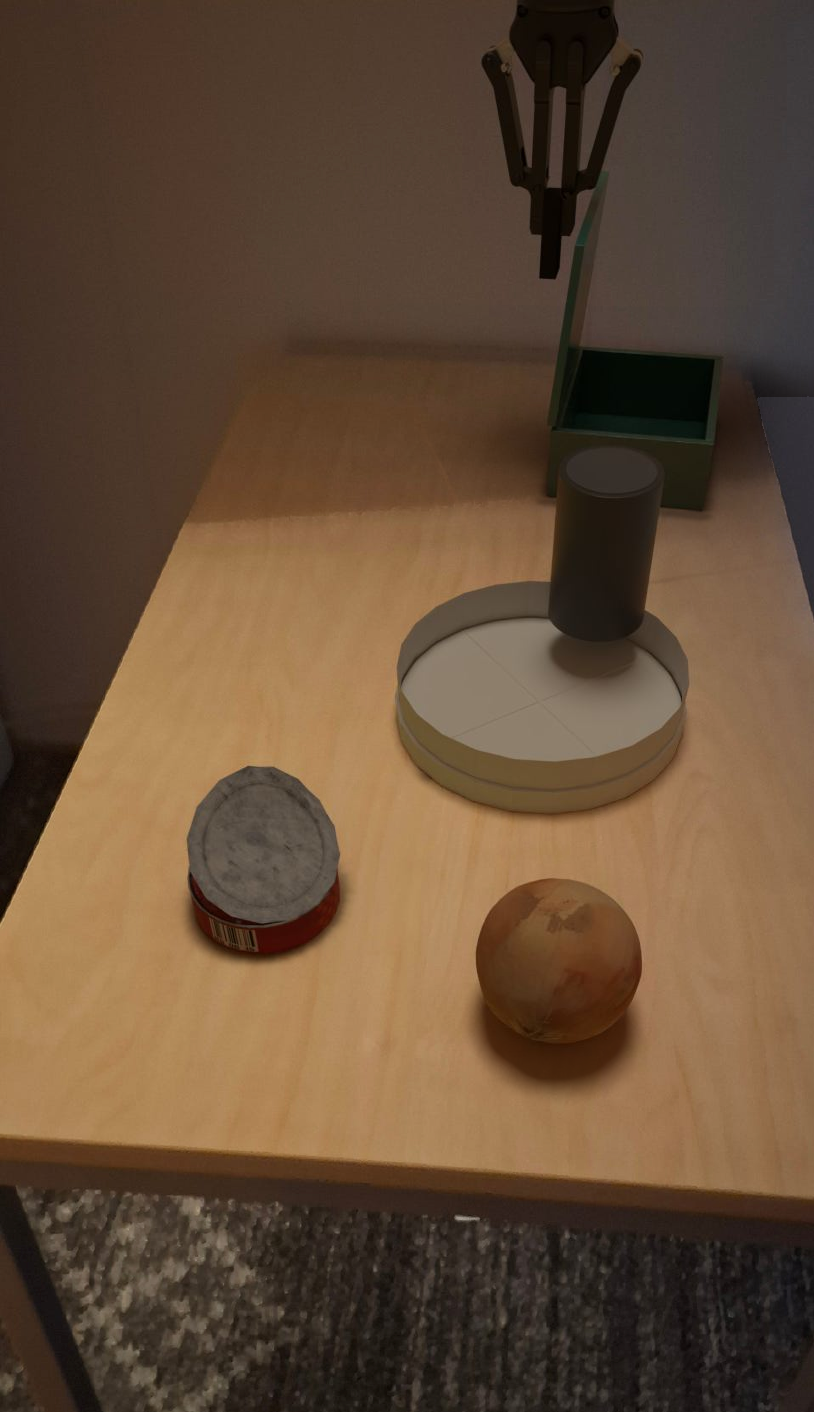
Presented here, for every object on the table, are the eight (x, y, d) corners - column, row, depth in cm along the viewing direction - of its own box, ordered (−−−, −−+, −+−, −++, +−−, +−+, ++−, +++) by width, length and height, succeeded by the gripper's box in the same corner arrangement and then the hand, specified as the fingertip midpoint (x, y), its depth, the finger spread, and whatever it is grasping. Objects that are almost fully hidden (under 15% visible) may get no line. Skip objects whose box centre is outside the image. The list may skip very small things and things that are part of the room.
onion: (634, 954, 75) (655, 846, 67) (629, 1086, 68) (651, 983, 61) (484, 937, 76) (488, 829, 68) (464, 1065, 69) (466, 962, 62)
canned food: (326, 899, 84) (387, 810, 78) (293, 1001, 77) (356, 912, 71) (184, 829, 82) (234, 731, 76) (135, 927, 75) (186, 828, 68)
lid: (609, 172, 106) (600, 170, 106) (584, 246, 94) (574, 245, 94) (580, 341, 117) (572, 340, 117) (555, 427, 106) (546, 425, 106)
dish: (497, 858, 80) (499, 806, 77) (345, 688, 93) (341, 636, 90) (743, 744, 88) (756, 692, 84) (570, 601, 101) (575, 550, 97)
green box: (711, 426, 121) (723, 356, 115) (700, 518, 109) (714, 444, 103) (570, 415, 123) (576, 345, 118) (545, 504, 111) (550, 431, 106)
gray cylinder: (625, 580, 94) (643, 438, 85) (657, 634, 89) (680, 489, 80) (536, 594, 93) (545, 451, 84) (564, 648, 88) (577, 503, 79)
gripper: (661, -69, 88) (626, 261, 106) (491, -71, 91) (485, 253, 108) (652, -49, 84) (617, 294, 101) (474, -51, 86) (470, 285, 103)
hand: (549, 273), depth 105 cm, fingers closed
